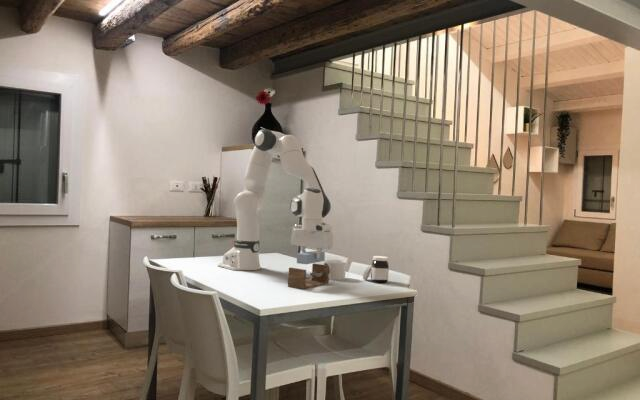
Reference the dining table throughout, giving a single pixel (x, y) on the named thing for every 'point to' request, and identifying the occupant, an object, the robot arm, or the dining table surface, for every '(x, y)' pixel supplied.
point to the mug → (336, 269)
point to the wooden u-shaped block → (299, 277)
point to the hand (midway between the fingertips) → (311, 257)
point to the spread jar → (378, 270)
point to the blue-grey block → (310, 257)
